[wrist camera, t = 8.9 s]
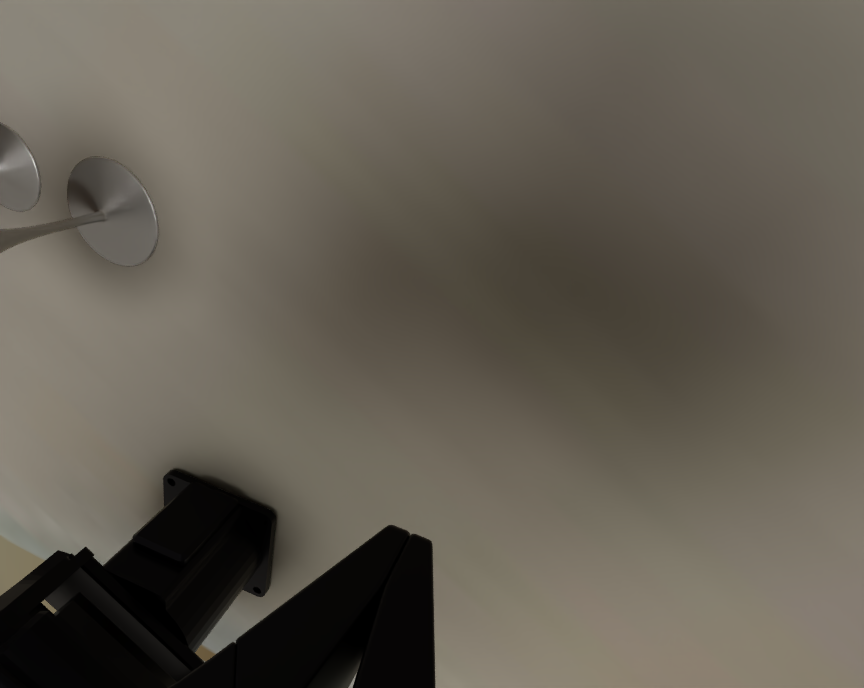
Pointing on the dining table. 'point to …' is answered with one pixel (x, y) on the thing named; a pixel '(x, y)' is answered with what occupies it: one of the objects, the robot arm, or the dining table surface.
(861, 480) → the dining table surface
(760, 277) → the dining table surface
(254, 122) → the dining table surface
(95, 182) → the goblet set
